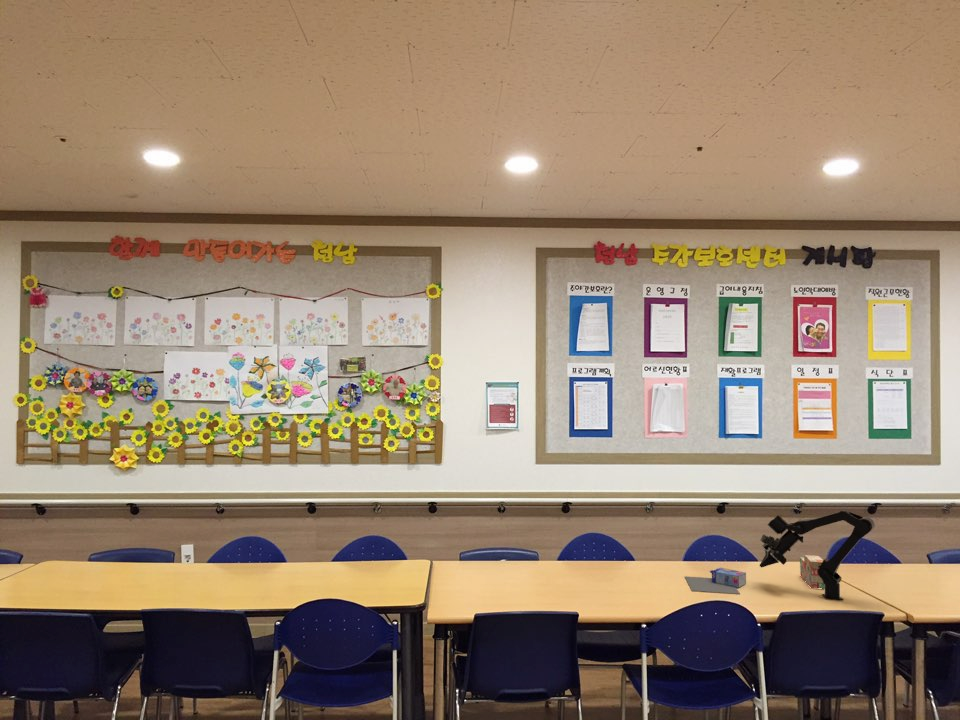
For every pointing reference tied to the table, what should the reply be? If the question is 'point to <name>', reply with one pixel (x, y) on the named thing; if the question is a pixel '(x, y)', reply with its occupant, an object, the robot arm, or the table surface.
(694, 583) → the mat
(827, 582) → the robot arm
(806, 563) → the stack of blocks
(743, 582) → the ink cartridge box
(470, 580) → the table surface
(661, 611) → the table surface
